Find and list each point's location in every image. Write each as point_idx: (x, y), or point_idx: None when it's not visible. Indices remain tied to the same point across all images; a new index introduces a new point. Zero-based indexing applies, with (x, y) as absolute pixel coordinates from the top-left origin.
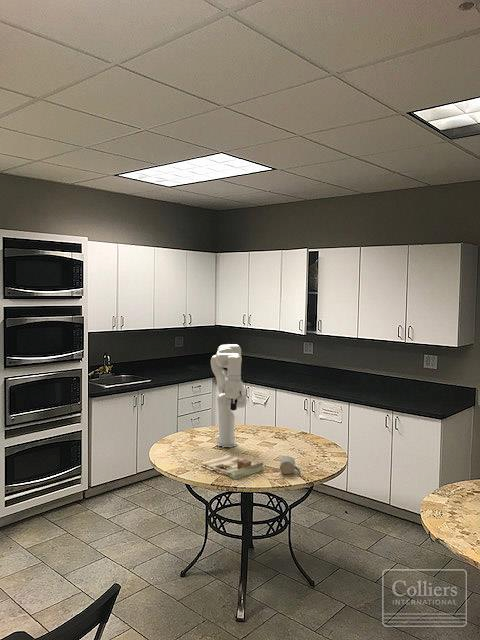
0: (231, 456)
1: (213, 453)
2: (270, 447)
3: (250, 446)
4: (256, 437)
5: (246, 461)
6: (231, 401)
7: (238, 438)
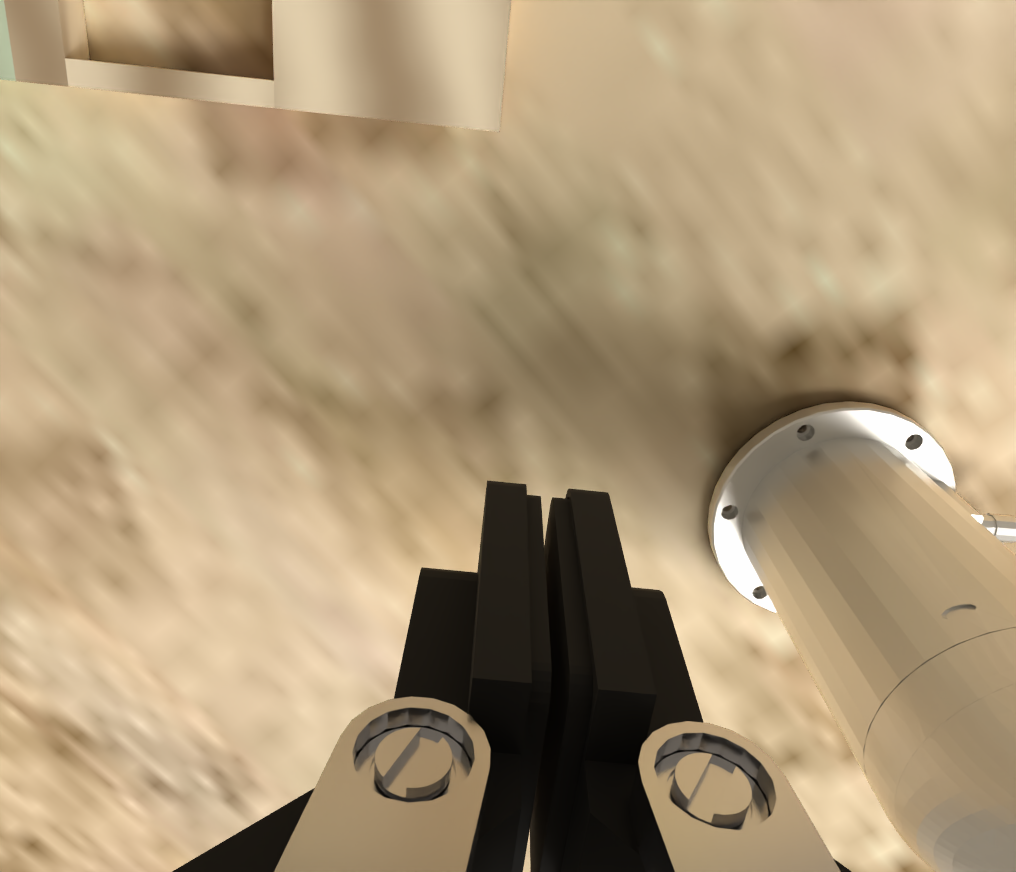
0: (416, 101)
1: (775, 159)
2: None
3: None
4: None
5: None
6: (641, 824)
7: (834, 728)
